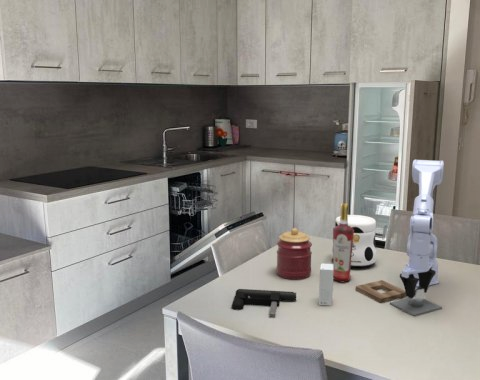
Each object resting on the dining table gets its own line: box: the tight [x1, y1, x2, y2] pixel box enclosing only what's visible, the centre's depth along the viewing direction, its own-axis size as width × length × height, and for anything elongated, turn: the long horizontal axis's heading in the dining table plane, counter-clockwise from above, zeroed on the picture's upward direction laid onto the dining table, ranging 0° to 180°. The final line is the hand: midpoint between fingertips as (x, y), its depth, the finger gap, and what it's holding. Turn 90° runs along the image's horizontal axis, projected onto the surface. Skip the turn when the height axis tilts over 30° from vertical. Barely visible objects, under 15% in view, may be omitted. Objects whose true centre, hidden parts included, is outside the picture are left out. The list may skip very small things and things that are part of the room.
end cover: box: [408, 286, 425, 308], centre depth 152 cm, size 4×4×6 cm
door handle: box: [231, 288, 297, 319], centre depth 153 cm, size 3×20×16 cm
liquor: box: [332, 202, 354, 283], centre depth 172 cm, size 7×7×28 cm
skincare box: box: [318, 263, 334, 306], centre depth 155 cm, size 6×4×12 cm
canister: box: [276, 227, 313, 280], centre depth 179 cm, size 13×13×18 cm
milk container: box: [331, 214, 378, 268], centre depth 191 cm, size 17×17×18 cm
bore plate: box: [355, 279, 408, 304], centre depth 163 cm, size 12×12×2 cm
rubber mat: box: [389, 297, 443, 317], centre depth 152 cm, size 12×10×1 cm
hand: (416, 294), depth 152 cm, fingers open, 7 cm apart
